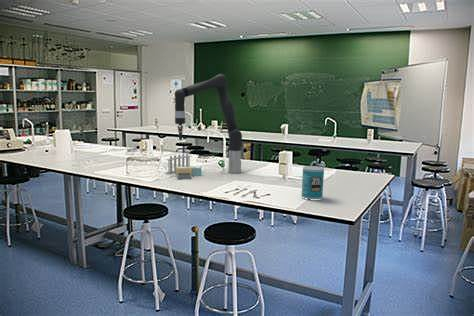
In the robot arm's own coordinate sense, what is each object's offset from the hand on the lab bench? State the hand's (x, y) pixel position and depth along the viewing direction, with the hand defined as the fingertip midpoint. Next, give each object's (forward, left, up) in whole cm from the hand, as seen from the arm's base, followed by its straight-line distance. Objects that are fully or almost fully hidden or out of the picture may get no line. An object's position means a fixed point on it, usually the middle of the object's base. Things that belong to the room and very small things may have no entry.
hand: (180, 139), depth 273 cm
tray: (-2, +15, -26) cm, 30 cm away
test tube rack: (+1, -8, -26) cm, 27 cm away
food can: (-76, +73, -26) cm, 109 cm away
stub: (-12, +7, -26) cm, 29 cm away
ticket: (-2, +7, -26) cm, 27 cm away
